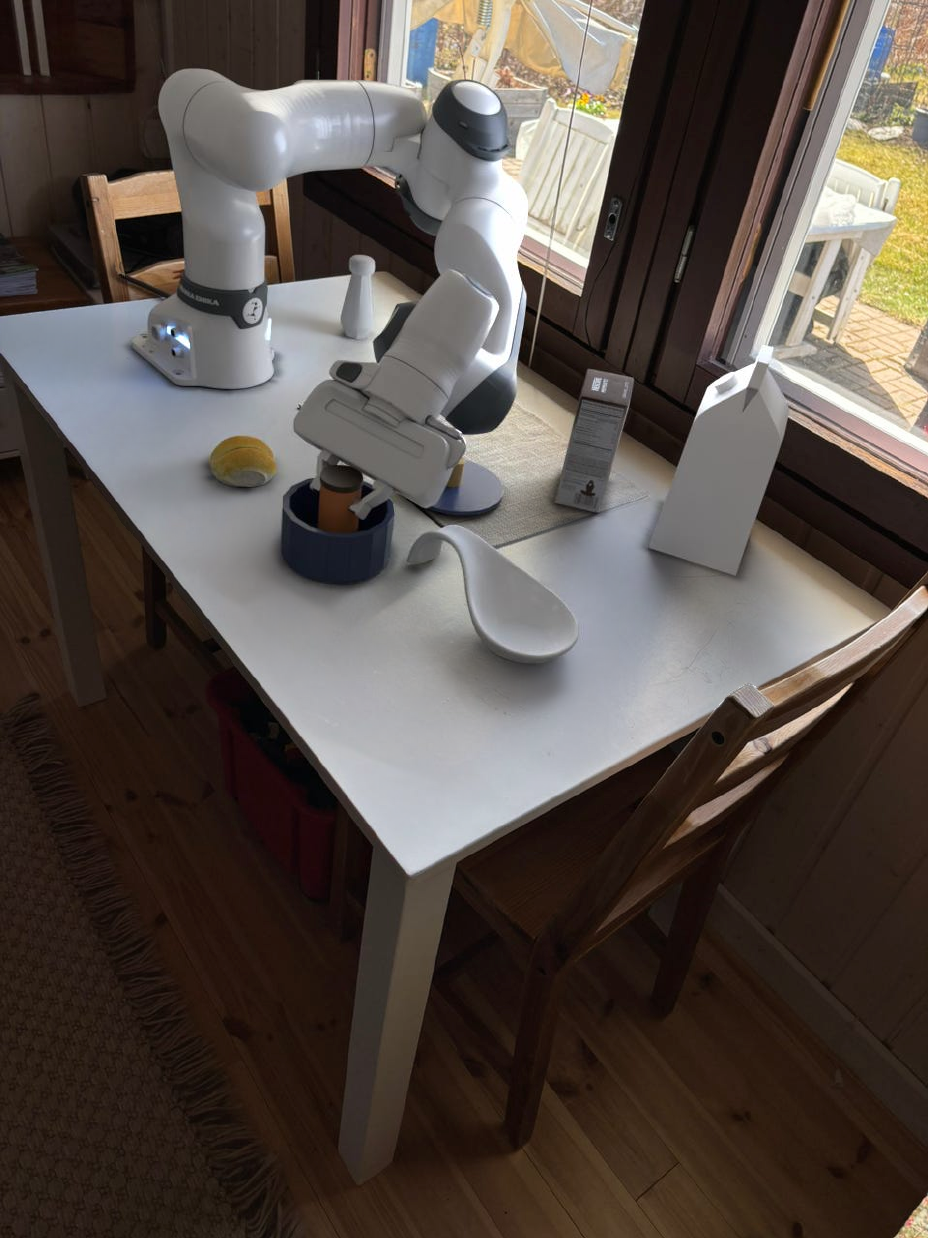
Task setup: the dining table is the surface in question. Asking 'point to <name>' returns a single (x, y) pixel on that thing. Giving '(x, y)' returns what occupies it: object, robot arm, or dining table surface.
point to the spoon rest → (504, 599)
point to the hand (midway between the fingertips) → (335, 503)
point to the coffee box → (594, 439)
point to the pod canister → (339, 498)
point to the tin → (334, 539)
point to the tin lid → (469, 490)
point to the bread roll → (242, 462)
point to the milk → (724, 469)
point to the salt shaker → (359, 299)
